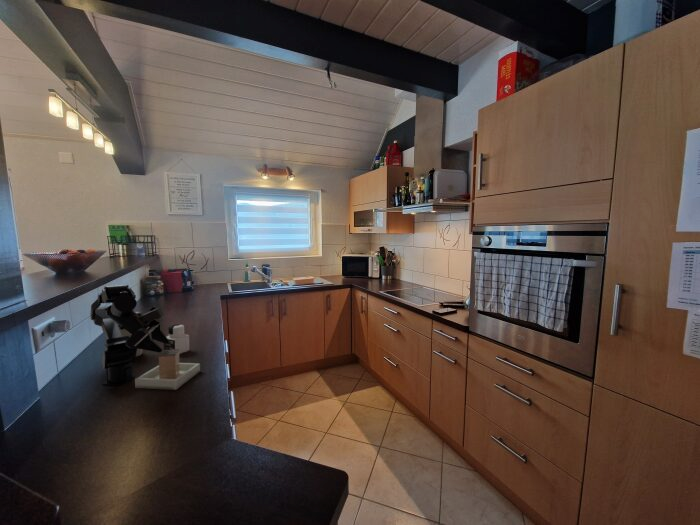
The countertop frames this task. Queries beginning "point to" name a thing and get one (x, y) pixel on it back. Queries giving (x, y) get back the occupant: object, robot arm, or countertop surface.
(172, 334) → the medicine bottle
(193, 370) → the tray
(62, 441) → the countertop surface
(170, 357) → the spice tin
